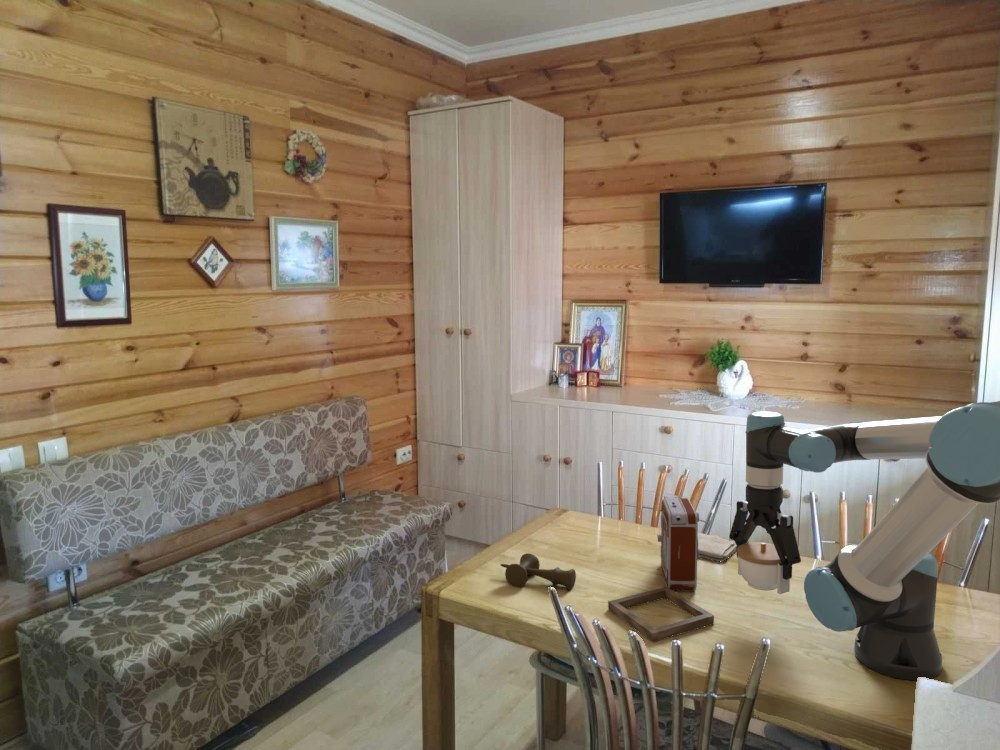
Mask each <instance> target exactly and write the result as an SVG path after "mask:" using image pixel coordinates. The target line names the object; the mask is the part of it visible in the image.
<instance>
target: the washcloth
mask: <svg viewBox="0 0 1000 750" xmlns="http://www.w3.org/2000/svg"><path fill="white" fill-rule="evenodd" d="M713 540H714V541H713ZM698 549H699V558H701V557H704V558H703V559H706V558H709V559H708V560H710V559H712V560H711V561H714V560H716V561H715V562H718V561H721V562H720V563H723V562H725V561H727V560H728V559H729V558H730V557H731V556H732V555H734V554H735V553H736V552H737V545H736V543H735V541H734V540H728V539H725V538H722V537H720V536H719V535H713V534H712V535H711V534H705V533H702V532H698ZM731 554H732V555H731ZM730 555H731V556H730ZM729 556H730V557H729ZM728 557H729V558H728ZM727 558H728V559H727ZM726 559H727V560H726ZM724 560H725V561H724Z"/></svg>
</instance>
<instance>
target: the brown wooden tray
mask: <svg viewBox="0 0 1000 750" xmlns="http://www.w3.org/2000/svg"><path fill="white" fill-rule="evenodd" d="M661 598H663V599H666V600H667V599H668V600H667V601H669V602H670V601H671V603H672V602H673V603H674V604H673V603H672V604H673V605H675V604H676V605H675V606H676V607H678V606H679V607H678V608H680V609H681V608H682V609H681V610H683V611H684V610H685V612H686V611H687V612H686V613H688V614H689V615H690V616H692V615H693V616H692V617H689V618H687V619H682V620H680V621H675V622H672V623H668V624H666V625H662V626H659V627H658V626H657V627H655V628H654V627H652V626H651V625H649V624H648V623H647V622H645V621H644V620H643V619H641V618H640V617H638V615H635V614H634V613H633V612H631V611H630V610H629V607H630V608H633V606H634V607H636V606H640V605H645V604H647V602H649V603H651V601H652V602H655V601H654V600H656V601H658V600H657V599H660V600H662V599H661ZM607 603H608V606H607V609H608V611H610V612H611V613H612V614H614V615H615V616H616V617H617V618H619V619H620V618H621V619H620V620H622V621H623V622H624V621H625V622H624V623H625V624H627V623H628V624H629V627H631V628H632V627H633V629H634V628H635V629H636V630H635V629H634V630H635V631H637V632H638V631H639V632H640V633H639V632H638V633H639V634H641V635H642V636H643V637H645V638H647V640H649V641H650V642H652V643H655V642H659V641H662V640H665V639H664V638H666V639H668V638H667V637H669V638H672V637H675V636H674V635H676V636H677V634H679V635H681V634H680V633H682V634H685V633H684V632H686V633H689V632H691V631H695V630H694V629H696V630H698V629H697V628H699V629H701V627H702V628H705V627H704V626H706V627H708V626H707V625H709V626H711V625H710V624H712V625H714V624H713V623H714V622H715V615H714V614H712V613H711V612H709V611H708V610H705V609H704V608H702V607H700V606H699V605H697V604H696V603H694V602H693V601H692V600H689V599H687V598H686V597H684V596H682V595H681V594H680V593H677V592H676V591H675V590H671V589H670V588H668V587H667V586H666V585H665V586H662V587H658V588H654V589H651V590H646V591H642V592H640V593H636V594H631V595H628V596H624V597H623V596H622V597H620V598H616V599H612V600H608V602H607ZM644 603H645V604H644ZM628 624H627V625H628ZM688 631H689V632H688ZM672 635H673V636H672ZM671 636H672V637H671ZM661 639H662V640H661Z"/></svg>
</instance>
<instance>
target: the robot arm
mask: <svg viewBox="0 0 1000 750" xmlns="http://www.w3.org/2000/svg"><path fill="white" fill-rule="evenodd" d="M745 426H746V429H745V463H746V464H745V465H746V466H745V482H746V483H747V484H745V499H743V500H742V499H741V500H737V502H736V511H735V515H734V518H733V522H732V525H731V528H730V529H731V530H730V533H729V536H728V537H729V539H730V541H734V544H736V545H737V548H738V547H739V546H740V545H742V544H745V543H750V538H751V537H752V535H753V533H754V532H755V530H756V528H757V527H758V526H759V527H761V528H762V529H765V531H766V533H767V534H769V537H770V539H771V541H772V544H774V546H775V549H776V551H777V554H778V556H779V558H780V561H781V563H778V577H777V588H776V592H777V594H779V595H782V594H786V593H789V592H790V586H791V585H790V584H791V583H790V582H791V581H790V580H791V579H792V577H793V565H796V564H799V563H801V562H802V559H801V555H800V551H799V546H798V542H797V538H796V533H795V529H794V516H793V515H792V514H788V515H786V514H783V513H782V510H781V506H782V504H783V501H784V487H783V486H782V485H783V483H784V465H787V466H790V467H792V468H797V469H799V470H801V471H803V472H812V473H824V472H826V471H827V469H828V468H830V467H831V466H832V465H834V464H836V463H842V462H843V463H844V462H849V461H871V460H905V459H906V460H912V459H913V460H917V459H918V460H919V459H920V460H921V459H925V463H926V466H927V467H926V469H925V470H924V471H923V473H921V474H920V476H918V478H917V479H916V480H915V481H914V482H913V483H912V485H911V486H910V487H909V488H907V490H906V491H905V493H904V494H903V495H902V496H901V497H900V498H899V499H898V500H897V501H896V503H894V504H893V506H892V507H891V508H890V509H889V510H888V511H887V512H886V513H885V515H884V516H883V517H882V518H881V519H880V520H879V522H878V523H876V525H875V526H873V528H872V529H871V530H870V531H869V533H868V534H867V535H866V536H865V537H864V538H863V539H862V540H861V542H860V543H859V544H849V545H846V546H845V547H844V548H842V549H841V550H840V551H839V552H838V553H837V554H836V556H834V558H833V559H832V561H830V562H829V563H828V564H826V565H825V566H816V567H814V569H811V570H809V571H808V572H807V573H806V575H805V577H804V581H803V591H804V594H805V601H806V603H807V605H808V609H809V610H810V611H811V613H812V615H813V616H814V617H815V618H816V620H817V621H818V622H819V623H820V624H821V625H822V626H824V627H825V628H827V629H830V630H831V631H833V632H836V633H837V632H838V633H842V632H850V631H854V630H855V629H857V628H858V629H859V630H858V632H857V634H856V637H855V639H854V648H853V650H854V651H853V653H854V655H855V656H856V658H857V659H858V660H859V661H860V663H862V664H863V665H865V666H866V667H868V668H869V669H871V670H872V671H875V672H877V673H880V674H883V675H885V676H888V677H891V678H896V679H900V680H907V681H918V680H917V678H918V677H926V678H931V679H934V678H936V677H938V676H939V675H940V674H941V672H942V671H943V670H942V668H943V667H942V666H943V656H942V653H941V652H940V651H941V650H940V647H939V644H938V639H937V636H936V634H935V629H934V627H935V615H936V600H937V590H938V589H937V588H938V579H939V574H938V572H939V570H938V568H939V567H938V564H939V563H938V561H937V559H936V558H935V556H934V555H933V554H932V553H930V552H931V551H932V550H933V549H934V548H935V547H936V546H937V545H938V544H939V543H941V541H943V540H944V538H945V537H947V536H948V535H949V534H950V533H951V532H952V531H953V530H954V529H955V528H956V527H957V526H958V525H959V524H960V523H961V522H962V521H963V520H964V519H965V518H966V517H967V516H968V515H969V514H970V513H971V512H973V510H974V509H975V508H976V507H977V506H978V505H980V504H981V505H992V504H996V503H997V502H999V500H1000V400H997V401H992V402H991V401H990V402H987V401H986V402H985V401H984V402H983V401H981V402H974V403H969V404H966V405H962V406H960V407H957V408H954V409H952V410H950V411H948V412H946V413H944V415H937V416H926V417H925V416H924V417H914V418H903V419H902V418H901V419H890V420H889V419H887V420H877V421H867V422H866V421H853V422H848V423H842V424H837V425H831V426H821V427H814V428H808V429H807V428H806V429H800V428H799V429H798V428H795V427H789V426H786V423H785V417H784V415H783V414H781V413H779V412H776V411H774V412H773V411H755V412H751V413H750V414H748V415H747V417H746V425H745ZM785 557H787V558H785ZM736 558H737V559H738V554H737V553H736ZM737 574H738V575H739V576H742V575H741V573H740V570H739V566H738V565H737ZM932 677H933V678H932Z"/></svg>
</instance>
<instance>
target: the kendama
mask: <svg viewBox="0 0 1000 750" xmlns="http://www.w3.org/2000/svg"><path fill="white" fill-rule="evenodd" d="M500 566H501V567H503V568H505V572H504V575H505V579H506V581H507V583H508V584H509V585H510V586H511V585H512V587H515V588H522V587H525V585H526V584H527V582H528V575H532V576H537V577H538V578H539V577H540V578H542V579H545V580H546V581H549V582H551V584H552V585H553V586H557V585H560V586H563V587H565V588H566V589H567V590H568V591H571V590H573V589H574V586H575V584H576V579H577V577H576V575H577V573H576V569H574V568H570V569H568V570H564V569H561V568H560V567H559V566H558V567H555V568H553V569H552V568H551V569H543V568H541V569H540V560H539V558H538V557H537V556H536V555H535V554H532V553H527V552H526V553H524V554H522V555H521V557H520V559H519V563H511V564H506V563H500Z"/></svg>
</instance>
